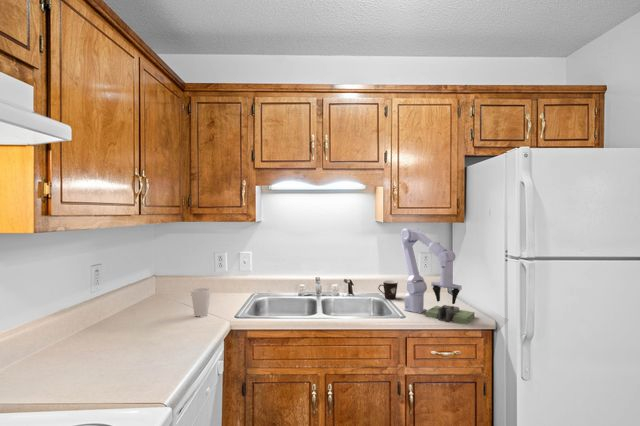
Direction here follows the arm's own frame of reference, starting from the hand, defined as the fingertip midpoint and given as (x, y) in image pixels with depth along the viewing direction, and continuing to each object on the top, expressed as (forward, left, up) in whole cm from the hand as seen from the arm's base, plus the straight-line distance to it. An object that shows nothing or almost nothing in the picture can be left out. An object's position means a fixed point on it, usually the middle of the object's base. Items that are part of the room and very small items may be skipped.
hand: (445, 302), depth 194 cm
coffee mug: (-43, +21, -9) cm, 49 cm away
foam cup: (-100, -71, -9) cm, 123 cm away
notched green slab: (0, +6, -8) cm, 10 cm away
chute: (0, 0, -9) cm, 9 cm away
